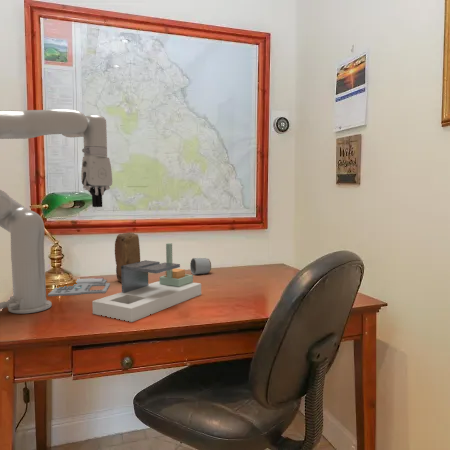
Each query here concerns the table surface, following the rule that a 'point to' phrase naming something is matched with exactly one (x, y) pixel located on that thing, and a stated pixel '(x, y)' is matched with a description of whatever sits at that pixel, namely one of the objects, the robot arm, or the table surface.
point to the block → (126, 251)
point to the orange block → (177, 273)
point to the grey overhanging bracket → (141, 273)
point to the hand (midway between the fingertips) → (97, 206)
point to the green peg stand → (169, 279)
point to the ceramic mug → (200, 266)
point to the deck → (144, 300)
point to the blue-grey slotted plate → (81, 287)
